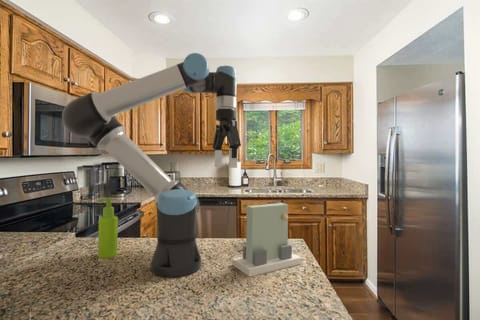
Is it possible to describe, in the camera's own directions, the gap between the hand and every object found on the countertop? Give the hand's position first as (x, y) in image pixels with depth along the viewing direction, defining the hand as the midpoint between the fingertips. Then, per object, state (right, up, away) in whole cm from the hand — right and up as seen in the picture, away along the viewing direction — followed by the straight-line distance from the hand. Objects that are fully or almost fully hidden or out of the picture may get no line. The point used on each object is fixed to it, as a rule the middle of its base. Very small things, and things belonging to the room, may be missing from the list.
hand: (225, 167), depth 97 cm
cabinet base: (+14, -31, -12) cm, 36 cm away
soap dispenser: (-40, -31, -6) cm, 51 cm away
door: (+14, -29, -12) cm, 34 cm away
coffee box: (+21, -31, +12) cm, 39 cm away
